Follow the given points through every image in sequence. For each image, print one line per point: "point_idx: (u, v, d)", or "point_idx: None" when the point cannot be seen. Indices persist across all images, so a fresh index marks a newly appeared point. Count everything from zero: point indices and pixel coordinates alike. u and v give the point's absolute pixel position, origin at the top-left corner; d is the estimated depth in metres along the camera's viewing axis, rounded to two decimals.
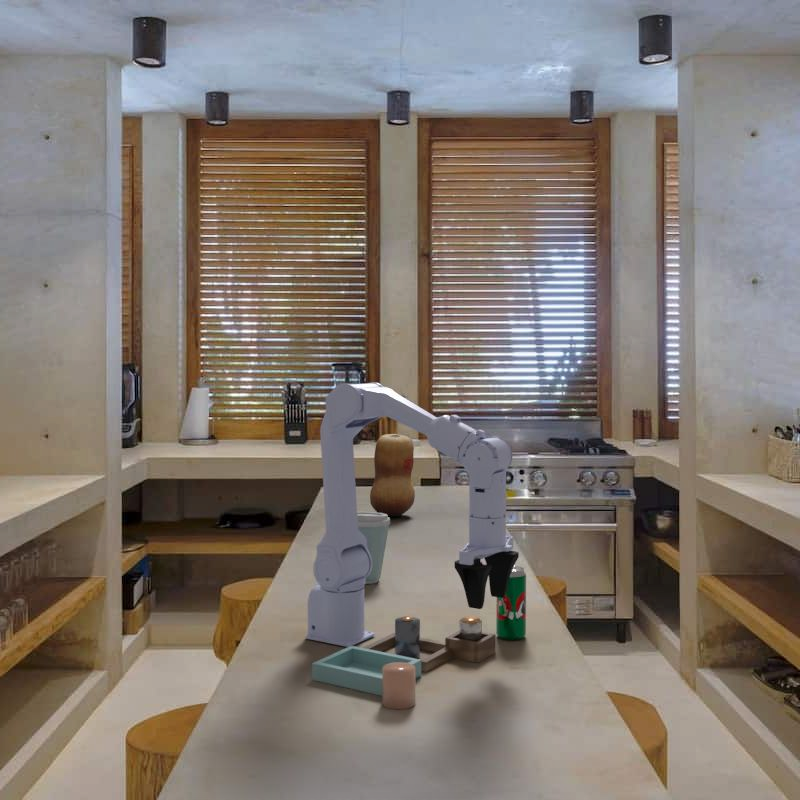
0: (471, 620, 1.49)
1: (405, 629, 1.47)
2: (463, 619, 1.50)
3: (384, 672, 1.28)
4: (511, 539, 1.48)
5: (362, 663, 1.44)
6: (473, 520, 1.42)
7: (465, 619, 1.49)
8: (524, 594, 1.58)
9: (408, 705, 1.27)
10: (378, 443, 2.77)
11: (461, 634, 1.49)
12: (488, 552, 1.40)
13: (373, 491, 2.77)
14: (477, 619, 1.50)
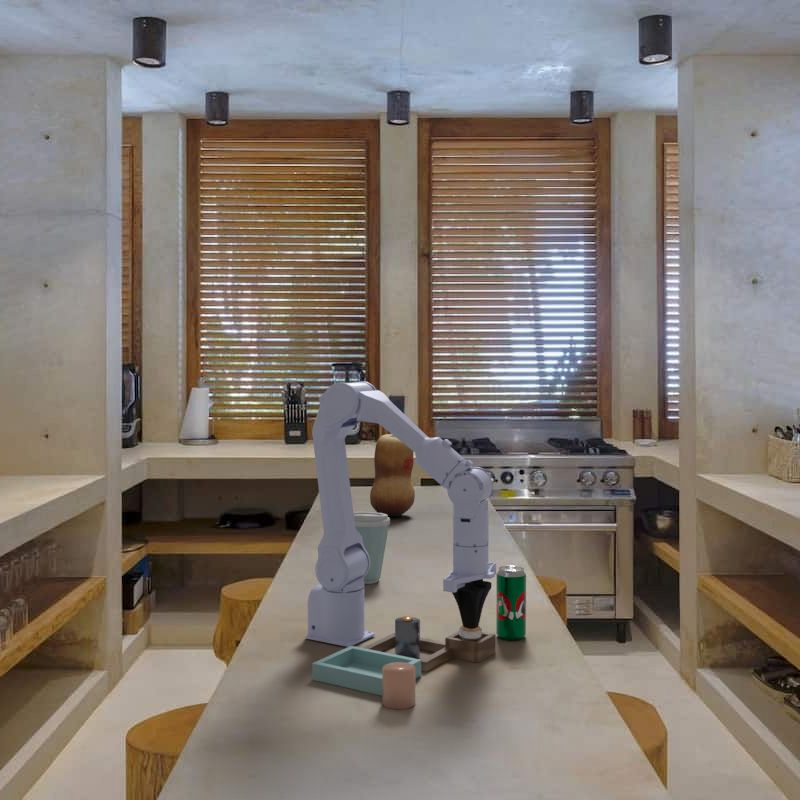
0: (471, 628, 1.49)
1: (405, 629, 1.47)
2: (463, 627, 1.50)
3: (384, 672, 1.28)
4: (494, 565, 1.54)
5: (362, 663, 1.44)
6: (457, 548, 1.48)
7: (465, 627, 1.50)
8: (524, 594, 1.58)
9: (408, 705, 1.27)
10: (378, 443, 2.77)
11: None
12: (471, 579, 1.46)
13: (373, 491, 2.77)
14: (477, 627, 1.50)
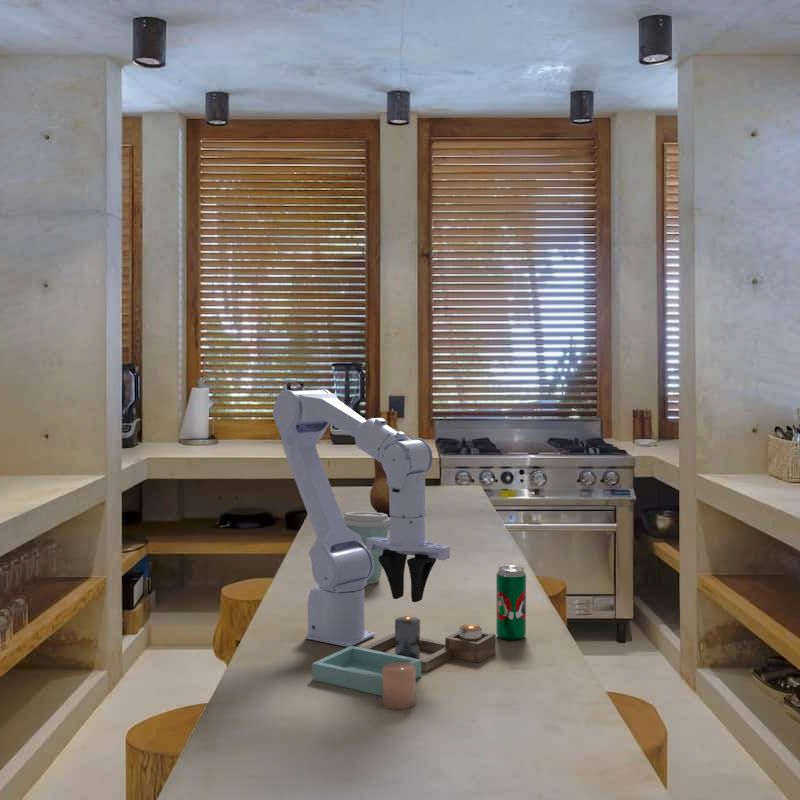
0: (471, 628, 1.49)
1: (405, 629, 1.47)
2: (463, 627, 1.50)
3: (384, 672, 1.28)
4: (438, 549, 1.44)
5: (362, 663, 1.44)
6: None
7: (465, 627, 1.50)
8: (524, 594, 1.58)
9: (408, 705, 1.27)
10: None
11: None
12: (382, 545, 1.48)
13: (373, 491, 2.77)
14: (477, 627, 1.50)
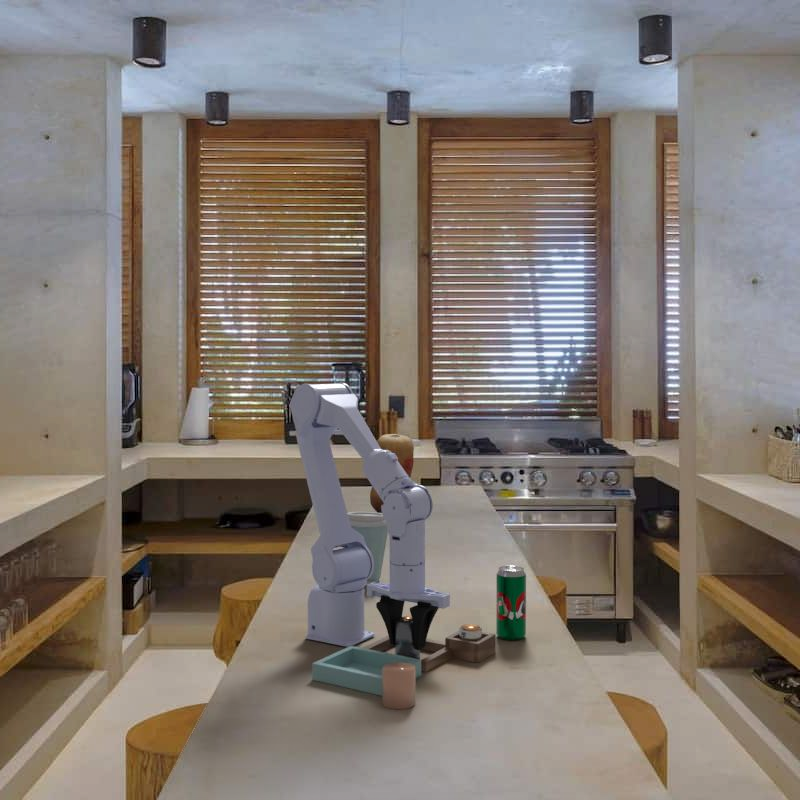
0: (471, 628, 1.49)
1: (405, 629, 1.47)
2: (463, 627, 1.50)
3: (384, 672, 1.28)
4: (438, 598, 1.44)
5: (362, 663, 1.44)
6: None
7: (465, 627, 1.50)
8: (524, 594, 1.58)
9: (408, 705, 1.27)
10: (378, 443, 2.77)
11: None
12: (382, 592, 1.49)
13: (373, 491, 2.77)
14: (477, 627, 1.50)
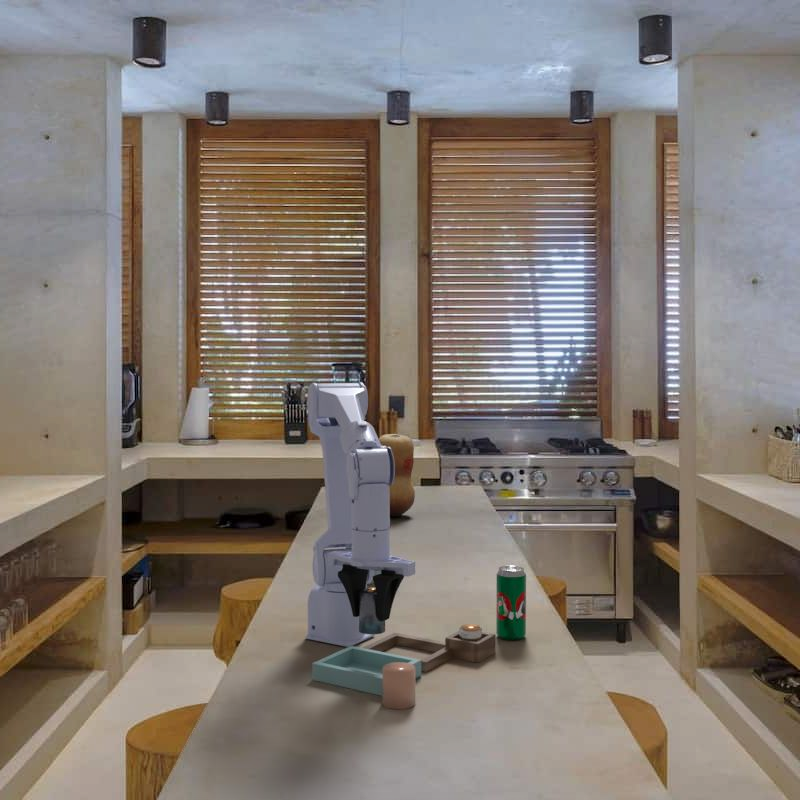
0: (471, 628, 1.49)
1: (369, 600, 1.38)
2: (463, 627, 1.50)
3: (384, 672, 1.28)
4: (402, 565, 1.35)
5: (362, 663, 1.44)
6: None
7: (465, 627, 1.50)
8: (524, 594, 1.58)
9: (408, 705, 1.27)
10: None
11: None
12: (344, 560, 1.39)
13: None
14: (477, 627, 1.50)
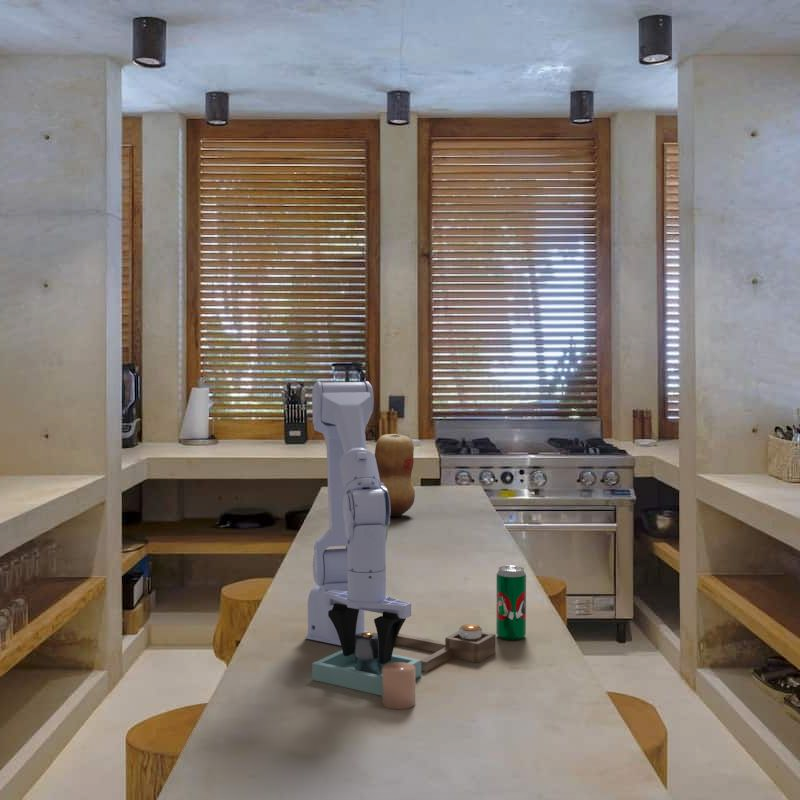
0: (471, 628, 1.49)
1: (364, 646, 1.37)
2: (463, 627, 1.50)
3: (384, 672, 1.28)
4: (398, 607, 1.34)
5: None
6: None
7: (465, 627, 1.50)
8: (524, 594, 1.58)
9: (408, 705, 1.27)
10: (378, 443, 2.77)
11: None
12: (340, 600, 1.39)
13: None
14: (477, 627, 1.50)
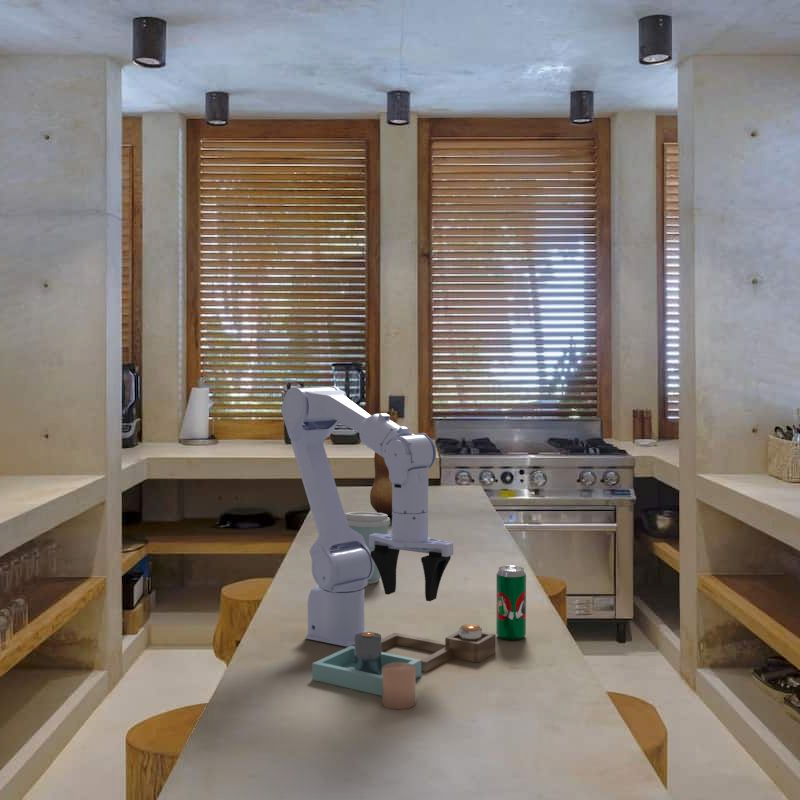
0: (471, 628, 1.49)
1: (364, 646, 1.37)
2: (463, 627, 1.50)
3: (384, 672, 1.28)
4: (441, 546, 1.42)
5: None
6: None
7: (465, 627, 1.50)
8: (524, 594, 1.58)
9: (408, 705, 1.27)
10: None
11: None
12: (385, 541, 1.46)
13: (373, 491, 2.77)
14: (477, 627, 1.50)
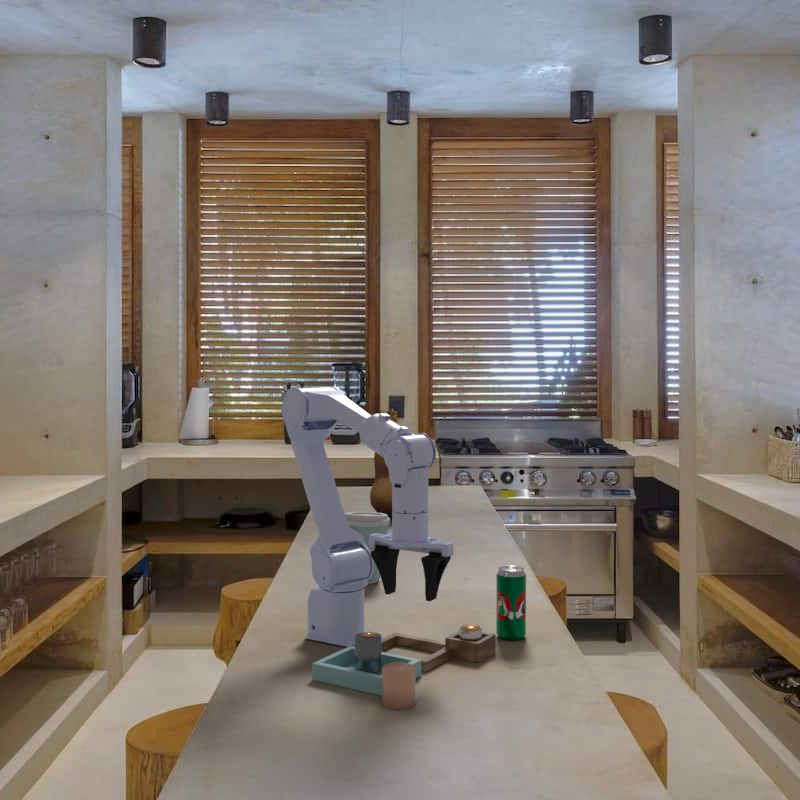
0: (471, 628, 1.49)
1: (364, 646, 1.37)
2: (463, 627, 1.50)
3: (384, 672, 1.28)
4: (441, 546, 1.42)
5: None
6: None
7: (465, 627, 1.50)
8: (524, 594, 1.58)
9: (408, 705, 1.27)
10: None
11: None
12: (385, 541, 1.46)
13: (373, 491, 2.77)
14: (477, 627, 1.50)
